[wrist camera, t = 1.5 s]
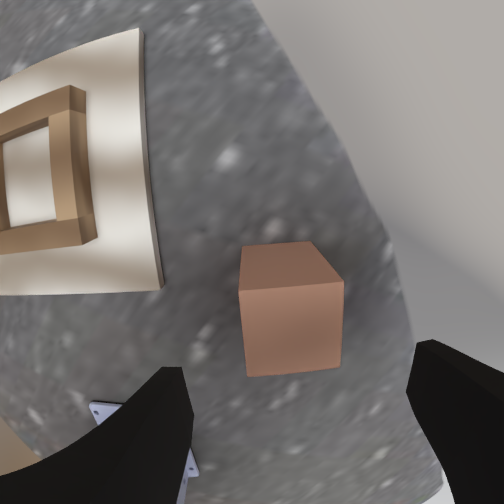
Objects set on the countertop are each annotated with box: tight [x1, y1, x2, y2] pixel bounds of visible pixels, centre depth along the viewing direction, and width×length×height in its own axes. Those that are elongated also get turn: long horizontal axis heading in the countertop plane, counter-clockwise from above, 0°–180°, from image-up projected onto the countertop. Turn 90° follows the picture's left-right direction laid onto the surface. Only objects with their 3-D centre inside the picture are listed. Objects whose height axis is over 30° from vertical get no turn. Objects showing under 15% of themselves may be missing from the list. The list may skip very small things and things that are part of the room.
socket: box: [0, 28, 164, 295], centre depth 15 cm, size 16×16×3 cm
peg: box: [238, 241, 344, 377], centre depth 15 cm, size 4×4×7 cm
